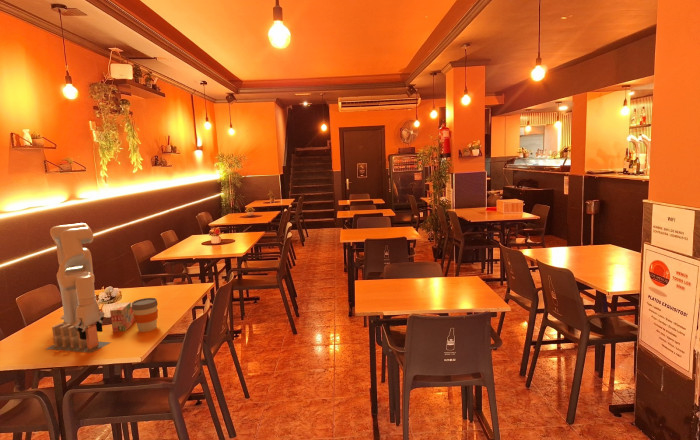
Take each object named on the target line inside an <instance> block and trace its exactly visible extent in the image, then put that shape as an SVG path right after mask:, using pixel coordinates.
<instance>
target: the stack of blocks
mask: <svg viewBox="0 0 700 440" xmlns="http://www.w3.org/2000/svg"><path fill="white" fill-rule="evenodd" d="M109 313H110V321H111V327H112V332H126V331H127V330H128V329H130V328H131V326H132V325H133V324H134V323H136V322H135V319H134V316H133V313H134V312H133V310H132V302H131V301H128V302H118V304H116V305H115V306H114V307H112V308H111V309H110V311H109Z"/></svg>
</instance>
